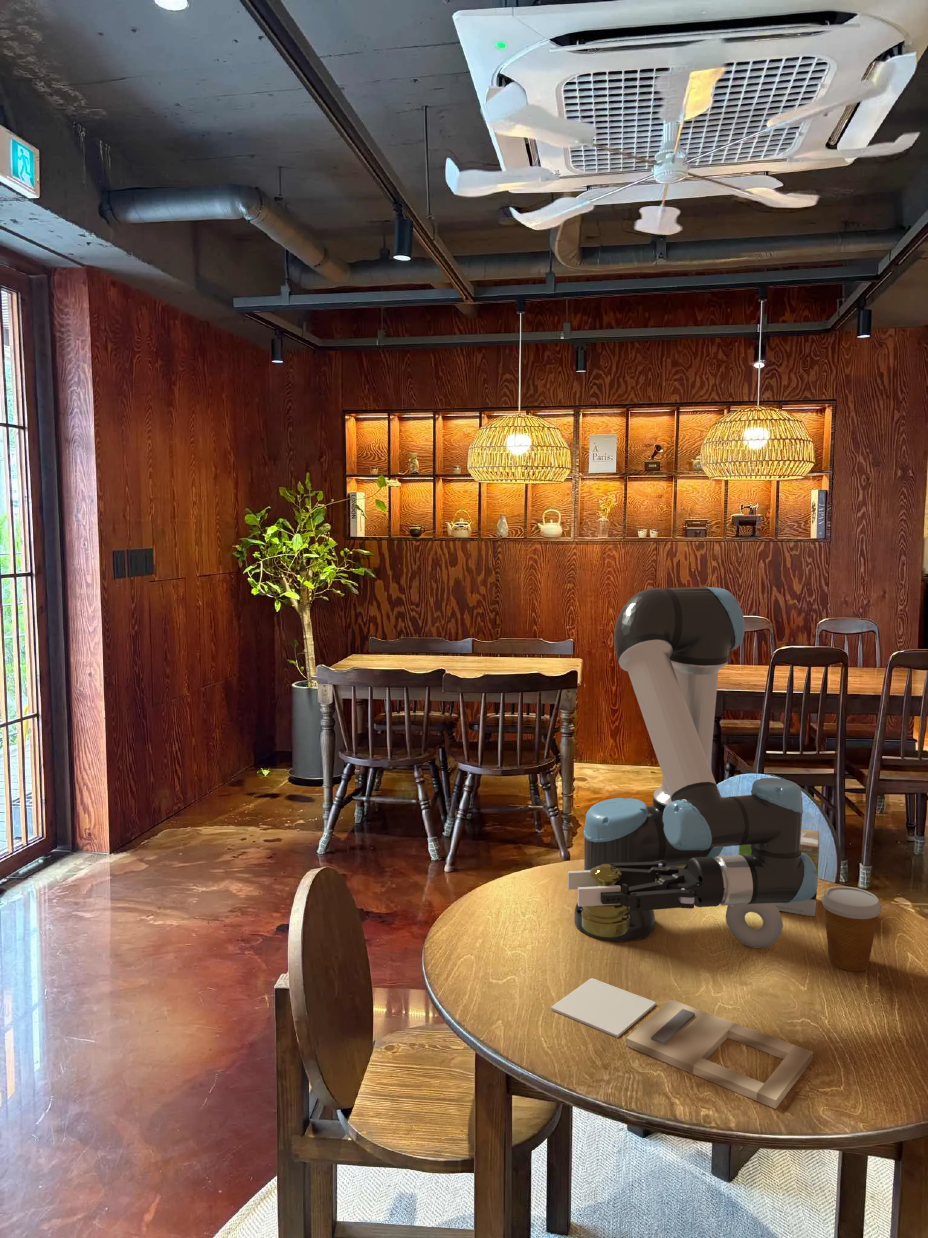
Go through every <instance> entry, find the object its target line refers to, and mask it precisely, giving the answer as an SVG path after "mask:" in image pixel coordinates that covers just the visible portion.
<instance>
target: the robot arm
mask: <svg viewBox="0 0 928 1238" xmlns="http://www.w3.org/2000/svg"><path fill="white" fill-rule="evenodd" d="M745 627H746V626H745V618H744V613H743V609H742V608H741V605H740V604H739V602H738V600H737V598H736V597H735V596H734V594H732V592H730V591H729V590H727V589H724V588H721V587H714V586H713V587H711V586H710V587H709V586H688V587H687V586H686V587H666V588H664V587H663V588H662V587H651V588H647V589H645V590H641V591H639V592H638V593H636V594H635V595H633V596H632V597H630V599H628V601H627V602H626V603H625V604H624V605H623V606H622V609H621V610H620V611H619V614H618V616H617V619H616V622H615V626H614V632H613V646H614V652H615V656H616V658H617V662H618V665H619V667H620V669H621V670H623V671H626V672H627V673H628V676H629V679H630V681H631V682H630V683H631V686H632V688H633V691H634V695H635V697H636V699H637V703H638V705H639V709H640V711H641V715H642V718H643V720H644V723H645V726H646V729H647V733H648V735H649V738H650V742H651V744H652V746H653V750H654V754H655V756H656V759H657V762H658V765H659V768H660V770H661V771H660V772H661V773H662V774H661V775H662V784H661V786H659V787H658V788H656V789H655V790H654V792H653V795H652V796H653V797H652V805H650V806H648V805H647V804H646V803H645V802H644V801H642V800H640V799H637V798H631V797H629V798H624V797H616V798H608V799H605V800H601V801H599V802H597V803H595V804H594V805H592V806H590V808H589V809H588V810H587V812H586V815H585V821H584V829H583V837H584V840H583V841H584V846H583V848H584V852H583V853H584V856H583V857H584V860H583V861H584V867H583V868H584V870H569V871H567V889H568V890H577V902H576V904H575V909H574V924H575V925H574V926H576V928H577V929H578V930H579V931H580V932H582V933H584V934H585V935H587V936H589V937H592V938H596V939H600V940H604V941H612V942H631V941H632V942H633V941H637V940H640V939H641V940H642V939H644V938H646V937H648V936H650V935H651V934H652V933H653V932H654V930H655V926H656V925H655V922H656V920H655V919H656V916H655V912H654V911H655V910H656V911H657V910H667V909H668V910H669V909H670V910H671V909H690V910H691V909H695V907H696V908H710V907H718V906H719V905H721V906H728V905H730V906H731V907H736V905H743V904H763V903H791V902H800V901H805V900H809V899H811V898H812V897H813V896H814V894H815V893H816V890H817V891H818V881H819V879H818V877H819V876H818V877H817V875H816V867H815V865H814V863H813V861H812V859H811V858H810V857H809V856H808V855H807V854H805V853H801V848H800V840H801V829H802V825H803V824H802V821H803V814H804V809H803V804H804V803H803V794H802V789H801V787H800V785H798V783H796V782H794V781H792V780H789V779H785V778H779V777H778V778H777V777H763V778H760V779H756V780H754V781H753V783H752V787H751V790H750V793H751V794H748V795H747V794H745V795H733V796H721V793H720V790H719V789H718V785H717V782H716V780H715V777H714V775H713V772H712V768H711V763H712V761H711V760H712V752H713V751H712V750H713V738H714V727H715V726H714V725H715V715H716V703H717V693H718V691H717V690H718V680H719V678H718V677H719V671H720V670H721V669H723V668H724V667H725V666H727V665H728V663H729V652H730V651H734V650H736V649H737V648H739V647H740V646H741V643H742V642H743V641H744V636H745V629H746V628H745ZM749 844H751V854H750V855H738V854H736V855H735V854H733V855H720V854H721V852H722V851H723V848H728V847H734V846H736V847H737V846H738V847H739V845H749ZM602 864H610V865H612V866H614V867H616V868H618V869H619V870H621V872H622V878H621V879H619V880H618V881H617V882H616V883H615V885H614V886H597V882H596V880H595V879H593V878H592V877H591V876H590V870H591V869H592V868H594V867H596V866H599V865H602ZM677 866H685V868H678V867H677ZM656 878H657V880H656V882H655V879H656ZM618 904H622V905H623V906H630V908H629V911H628V913H629V915H630V918H629V930H628V931H627V932H626V933H625V934H623V935H620V936H616V937H601V936H596V935H593V934H590V933H588V932H587V931H586V930H584V928H583V927H582V914H581V913H582V911H583V910H584V909H583V907H582V906H599V905H618Z"/></svg>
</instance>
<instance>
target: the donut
mask: <svg viewBox="0 0 928 1238" xmlns="http://www.w3.org/2000/svg"><path fill="white" fill-rule="evenodd" d="M726 906H727V907H726V912H725V921H726V925H727V928H728V930H729V931H730V933H731V934H732V936H733V938H735V939H736V940H737V941H738V942H739V943H741V944H743V945H744V946H746V947H750V948H752V949H753V948H755V949H764V948H768V947H771V946H772V945H773V944H775V943H777V942H778V940H779V939H780V937H781V935H782V932H783V927H784V923H783V917H782V915H781V911H779V910H778V908H777V907H776V906H775V905H774V904H773V903H763V904H743V905H736V907H731V906H730V905H726ZM749 913H754V914H757V915H758V916H759V917H760V918H761V920H762V926H761V927H759V928H754V927H752V926H750V925H749V924H748V923H747V922H746V918H745V916H746V915H747V914H749Z"/></svg>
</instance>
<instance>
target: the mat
mask: <svg viewBox="0 0 928 1238" xmlns="http://www.w3.org/2000/svg"><path fill="white" fill-rule="evenodd" d="M656 1005H657V1001H654V1000H651V999H649V998H646V997H645V996H644V997H643V996H641V995H639V994H635V993H633V992H630V991H627V990H626V989H622V988H619V987H617V986H614V985H612V984H610V983H609V984H608V983H606V982H603V981H601V980H598V979H595V978H593V977H591V978H589V979H588V980H586V981H585V982H584V983H582V984H581V985H579V986H578V987H576V989H574V990H572V991H571V992H570V993H568V994H567V995H565V996H564V997H563V998H561V999H560V1000H559V1001H557V1002H555V1004H553V1005H551V1006H550V1009H552V1010H551V1011H553V1010H554V1011H553V1012H555V1011H556V1013H557V1012H558V1014H560V1015H563V1016H565V1017H566V1018H569V1019H572V1020H575V1021H577V1022H579V1023H581V1024H584V1025H586V1026H588V1027H590V1028H591V1027H592V1028H594V1029H596V1030H598V1031H600V1032H603V1033H605V1034H607V1035H610V1036H612V1037H614V1038H619V1037H621V1035H622V1034H624V1033H625V1032H627V1030H629V1029H630V1028H631V1027H632V1026H633V1025H634V1024H636V1023H637V1022H638V1021H639V1020H640V1019H642V1017H644V1016H645V1015H646V1014H647V1013H648V1012H649V1011H651V1010H653V1008H654V1007H655V1006H656Z"/></svg>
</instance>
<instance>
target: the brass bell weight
mask: <svg viewBox="0 0 928 1238" xmlns="http://www.w3.org/2000/svg"><path fill="white" fill-rule="evenodd" d="M590 876H591V877H592V878H593V879H595V880H596V882H597V886H614V885H615V883H616V882H617V881H618V880H619V879H621V878H622V872H621V870H619V869H618V868H616V867H614V866H612V865H610V864H602V865H599V866H596V867H594V868H592V869H591V870H590ZM582 907H583V909H584V910H583V911H582V913H581V914H582V927H583V928H584V930H586V931H587V932H588V933H590V934H593V935H596V936H601V937H616V936H620V935H623V934H625V933H626V932H627V931H628V930H629V918H630V915H629V913H628V911H629V908H630V906H623V905H622V904H618V905H599V906H582Z"/></svg>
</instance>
